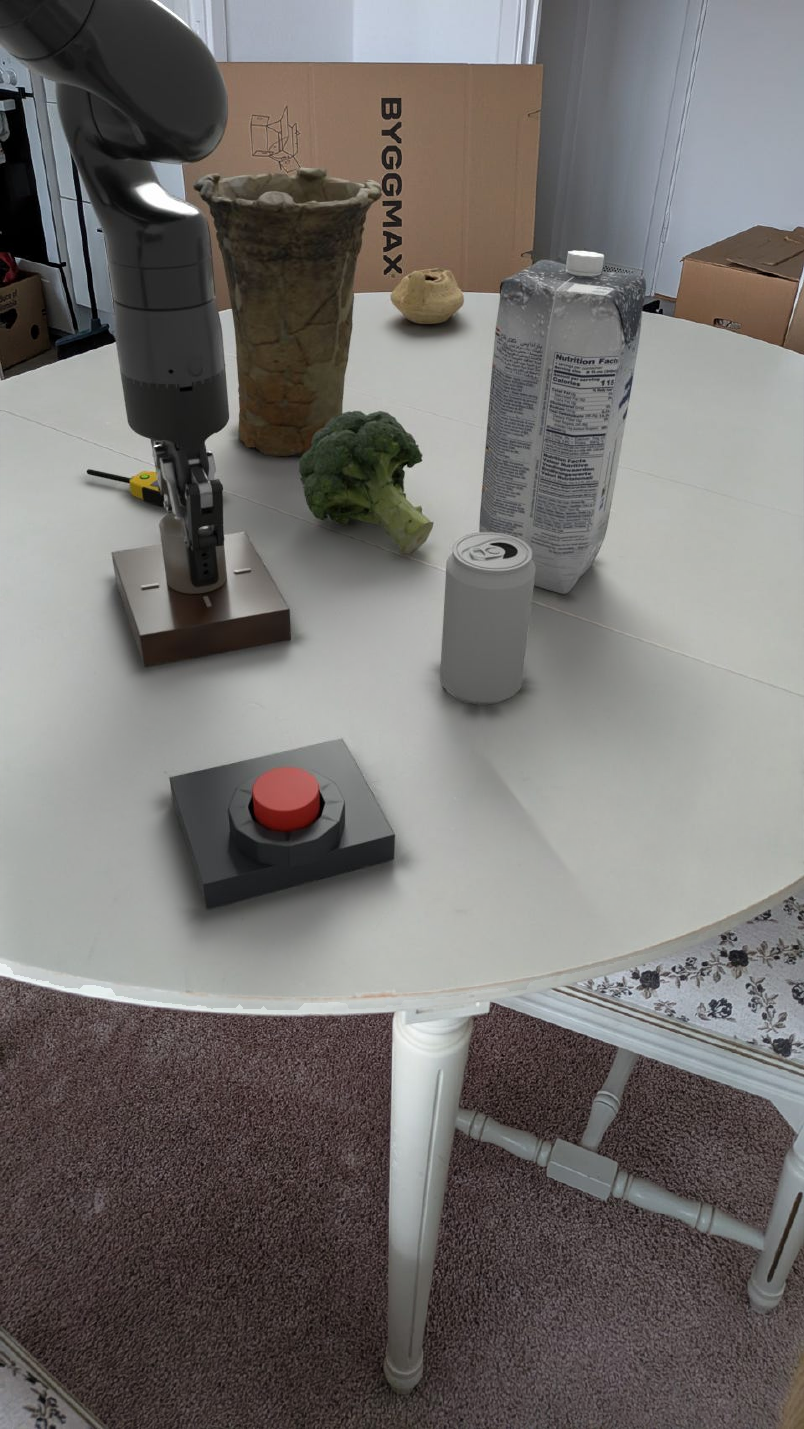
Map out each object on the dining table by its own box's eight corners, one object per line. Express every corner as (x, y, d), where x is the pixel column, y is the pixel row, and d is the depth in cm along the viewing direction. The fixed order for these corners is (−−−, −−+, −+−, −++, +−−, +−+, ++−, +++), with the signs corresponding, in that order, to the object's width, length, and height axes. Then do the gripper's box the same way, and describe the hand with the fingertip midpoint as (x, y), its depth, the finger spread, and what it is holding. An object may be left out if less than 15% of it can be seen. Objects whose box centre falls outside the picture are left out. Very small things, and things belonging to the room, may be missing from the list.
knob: (234, 586, 83) (229, 526, 79) (175, 599, 81) (167, 538, 77) (216, 559, 86) (211, 500, 83) (159, 570, 84) (151, 511, 81)
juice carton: (573, 605, 88) (623, 281, 71) (466, 573, 91) (490, 259, 75) (608, 562, 94) (661, 255, 77) (506, 534, 98) (536, 236, 81)
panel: (144, 667, 78) (139, 634, 76) (116, 581, 89) (110, 550, 87) (291, 639, 82) (289, 607, 80) (247, 560, 92) (245, 529, 90)
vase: (186, 433, 115) (159, 172, 98) (302, 394, 126) (296, 154, 109) (292, 482, 105) (282, 202, 89) (408, 435, 116) (418, 179, 100)
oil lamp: (468, 306, 158) (472, 252, 153) (457, 335, 146) (461, 278, 141) (400, 301, 159) (402, 247, 154) (384, 329, 147) (385, 272, 142)
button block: (208, 915, 59) (201, 868, 56) (172, 801, 66) (165, 756, 64) (397, 864, 63) (398, 818, 60) (343, 762, 70) (342, 717, 68)
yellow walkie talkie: (198, 498, 98) (70, 469, 102) (199, 516, 99) (73, 487, 103) (223, 479, 101) (99, 452, 105) (224, 497, 102) (101, 469, 107)
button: (263, 839, 59) (262, 817, 58) (246, 796, 62) (244, 774, 61) (328, 823, 60) (327, 801, 59) (308, 781, 63) (307, 760, 62)
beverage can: (535, 700, 76) (554, 563, 69) (459, 718, 74) (470, 578, 67) (498, 656, 81) (513, 522, 74) (426, 671, 79) (433, 535, 72)
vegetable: (350, 567, 87) (254, 447, 91) (385, 601, 100) (300, 494, 103) (457, 477, 86) (356, 358, 90) (480, 522, 98) (390, 416, 102)
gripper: (101, 337, 76) (132, 536, 87) (141, 402, 66) (171, 619, 76) (197, 327, 79) (216, 522, 89) (251, 388, 68) (265, 601, 79)
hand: (195, 566), depth 83 cm, fingers closed on knob, 5 cm apart
